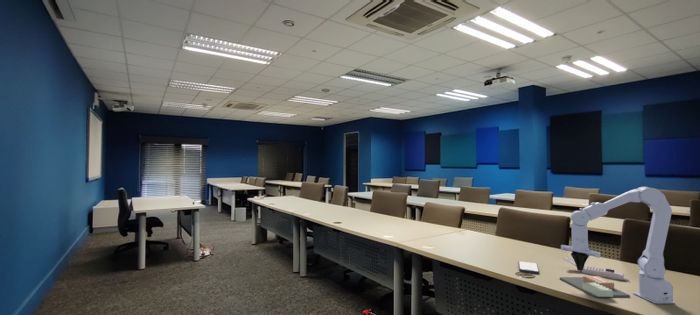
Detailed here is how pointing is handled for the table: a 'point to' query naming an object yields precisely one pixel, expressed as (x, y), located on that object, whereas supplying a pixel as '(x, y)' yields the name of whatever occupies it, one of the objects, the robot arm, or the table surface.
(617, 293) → the mat
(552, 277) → the table surface
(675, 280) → the table surface
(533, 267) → the phone case
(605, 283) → the pink block
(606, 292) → the pale green rectangular block
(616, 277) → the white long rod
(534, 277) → the table surface
